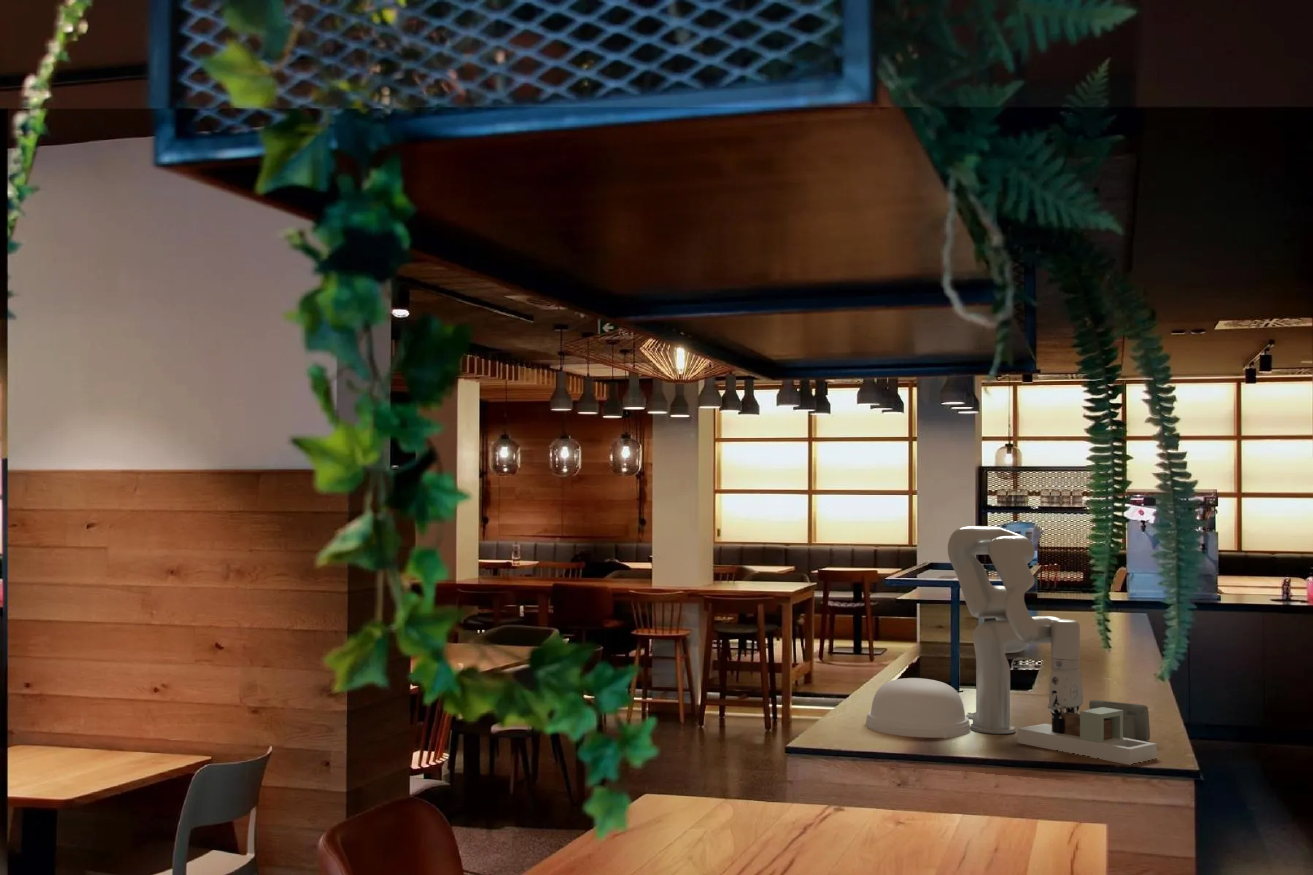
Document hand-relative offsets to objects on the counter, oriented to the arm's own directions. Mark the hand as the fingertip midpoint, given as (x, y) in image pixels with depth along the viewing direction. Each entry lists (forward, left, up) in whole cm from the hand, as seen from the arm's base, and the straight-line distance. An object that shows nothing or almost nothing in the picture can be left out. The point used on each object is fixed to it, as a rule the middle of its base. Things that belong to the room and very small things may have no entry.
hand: (1064, 731), depth 339 cm
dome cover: (-41, -12, -5) cm, 43 cm away
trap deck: (+6, 0, -4) cm, 8 cm away
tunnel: (+11, 0, 0) cm, 11 cm away
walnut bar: (+5, 0, 0) cm, 5 cm away
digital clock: (+3, +23, -5) cm, 24 cm away
